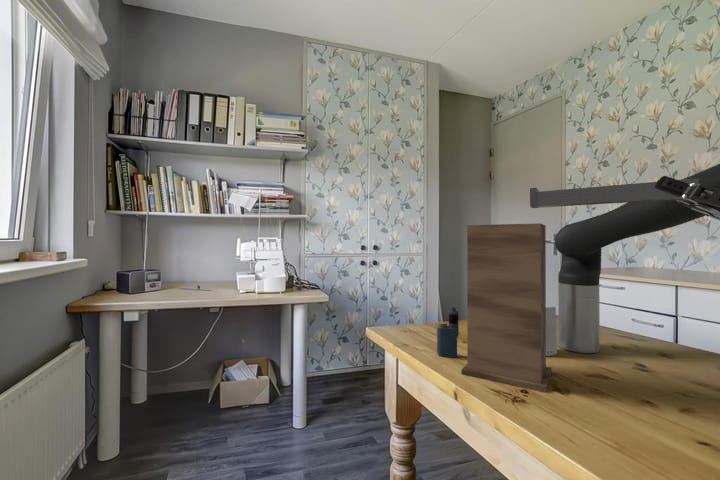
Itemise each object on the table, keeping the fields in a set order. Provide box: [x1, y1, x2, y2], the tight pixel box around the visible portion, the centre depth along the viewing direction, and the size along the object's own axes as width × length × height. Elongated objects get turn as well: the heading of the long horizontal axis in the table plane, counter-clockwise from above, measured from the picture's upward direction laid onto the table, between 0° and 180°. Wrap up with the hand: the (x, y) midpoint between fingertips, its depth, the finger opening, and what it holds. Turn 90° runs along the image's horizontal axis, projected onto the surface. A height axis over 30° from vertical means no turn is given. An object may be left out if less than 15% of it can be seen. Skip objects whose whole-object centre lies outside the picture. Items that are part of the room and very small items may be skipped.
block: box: [529, 178, 699, 209], centre depth 64 cm, size 4×25×4 cm, turn 56°
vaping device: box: [436, 307, 460, 358], centre depth 85 cm, size 3×5×12 cm, turn 79°
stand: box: [461, 223, 553, 393], centre depth 74 cm, size 12×16×32 cm
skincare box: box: [546, 305, 558, 357], centre depth 88 cm, size 6×4×12 cm
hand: (657, 182), depth 60 cm, fingers closed on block, 3 cm apart
